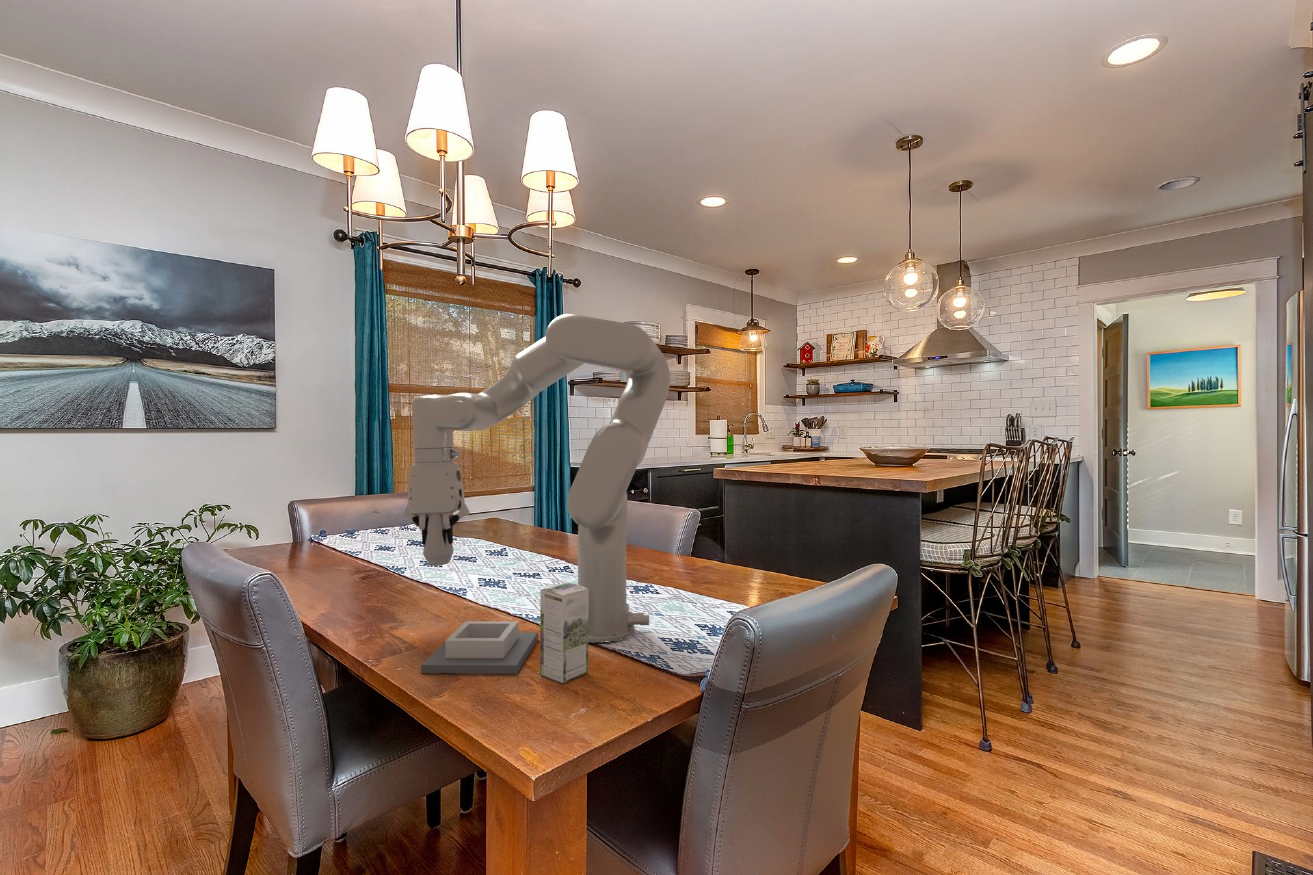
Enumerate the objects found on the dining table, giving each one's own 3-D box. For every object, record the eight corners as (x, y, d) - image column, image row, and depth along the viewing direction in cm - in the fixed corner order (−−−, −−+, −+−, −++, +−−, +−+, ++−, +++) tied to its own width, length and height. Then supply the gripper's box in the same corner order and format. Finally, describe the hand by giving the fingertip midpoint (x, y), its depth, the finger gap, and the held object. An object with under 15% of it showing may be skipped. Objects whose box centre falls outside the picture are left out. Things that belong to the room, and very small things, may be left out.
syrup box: (565, 664, 105) (564, 581, 105) (589, 673, 102) (589, 586, 101) (539, 675, 101) (538, 588, 101) (564, 685, 97) (563, 594, 97)
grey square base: (537, 639, 118) (537, 616, 117) (516, 674, 102) (516, 647, 101) (455, 639, 118) (454, 616, 118) (421, 673, 102) (420, 647, 102)
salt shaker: (444, 567, 120) (441, 500, 120) (417, 566, 121) (414, 501, 121) (459, 560, 126) (456, 497, 126) (434, 559, 127) (431, 497, 127)
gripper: (480, 454, 127) (483, 543, 127) (402, 457, 127) (406, 545, 128) (468, 456, 119) (472, 550, 120) (385, 459, 120) (389, 553, 120)
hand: (438, 547), depth 124 cm, fingers closed on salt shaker, 3 cm apart
